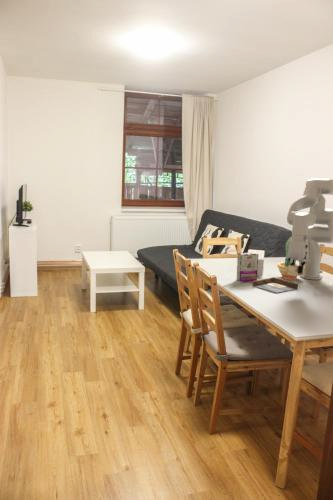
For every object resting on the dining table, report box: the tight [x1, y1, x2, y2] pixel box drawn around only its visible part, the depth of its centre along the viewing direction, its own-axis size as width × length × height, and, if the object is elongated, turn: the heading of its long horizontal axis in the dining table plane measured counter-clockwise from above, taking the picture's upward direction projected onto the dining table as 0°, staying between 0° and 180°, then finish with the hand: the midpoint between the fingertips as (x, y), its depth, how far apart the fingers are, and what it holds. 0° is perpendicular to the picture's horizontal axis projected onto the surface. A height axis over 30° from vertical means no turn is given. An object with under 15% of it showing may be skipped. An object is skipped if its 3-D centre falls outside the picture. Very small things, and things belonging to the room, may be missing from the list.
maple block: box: [287, 263, 304, 277], centre depth 228 cm, size 8×4×5 cm, turn 127°
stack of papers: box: [247, 248, 265, 277], centre depth 281 cm, size 32×11×11 cm, turn 167°
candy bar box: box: [236, 252, 258, 283], centre depth 252 cm, size 11×5×16 cm, turn 105°
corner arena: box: [251, 276, 299, 294], centre depth 241 cm, size 18×17×3 cm
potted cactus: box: [276, 236, 298, 281], centre depth 262 cm, size 15×15×25 cm
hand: (296, 271), depth 228 cm, fingers closed on maple block, 4 cm apart
